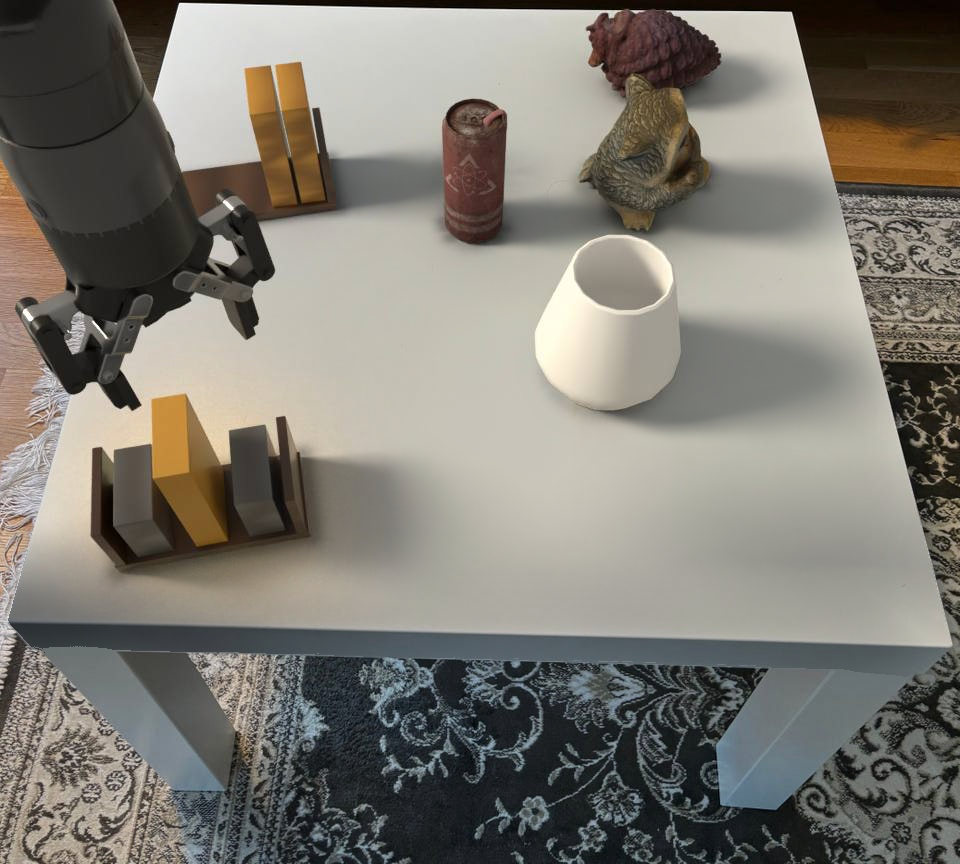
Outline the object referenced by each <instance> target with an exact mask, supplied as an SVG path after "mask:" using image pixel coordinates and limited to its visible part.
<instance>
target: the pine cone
mask: <svg viewBox="0 0 960 864" xmlns="http://www.w3.org/2000/svg"><path fill="white" fill-rule="evenodd" d="M609 15H610V14H609V13H608V12H601V13H599V15H598V16H597V18H596V19H595V20H594V22H593V23H592V24H589V25H587V26H585V31H586V32H589V35H588V41H589V42H590V43H591V44H590V45H591V48H592V50H591V54H590V56H589V58H588V61H587V64H588V65H589V67H592V68H598V67H600V66H601V67H600V69H601V71H602V73H604V74H605V79H606V80H607V81H608V82H609V83H611V89H612V90H613V91H615V92H620V96H621V97H622V98H623V99H624V98H625V99H627V97H626V88H625V87H626V81H627V79H628V77H629V76H630V75H631V74H639V75H641V76H642V77H644V78H646V79H647V80H648V81H650V83H651V84H652V85H653V87H654V88H655V89H662V88H677V89H680V90H681V88H683V87H684V86H691V85H692V84H696V82H697V80H700V79H703V78H704V77H707V76H710V75H711V73H712V72H715V70H717V69H718V67H719V66H720V65H721V64H722V60H721V58H722V53H721V52H719V51H720V49H719V46H716V45H717V43H716V41H715V40H714V39H710V37H709V35H707V34H706V33H704V34H703V33H702V32H701V31H700V29H696V27H695V26H692V25H690V24H689V22H688V21H687V20H686V19H682V17H681V16H678V15H674V14H673V13H672V11H667V10H665V9H659V10H657V9H655V8H652V9H645V10H643V11H638V12H636V13H635V12H633V11H632V10H631V9H630V8H625V9H622V10H620V11H617V12H616V13H615V14H614V16H613V17H609Z"/></svg>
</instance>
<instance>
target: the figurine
mask: <svg viewBox="0 0 960 864" xmlns="http://www.w3.org/2000/svg"><path fill="white" fill-rule="evenodd" d="M625 88H626V97H627V98H626V105H625V106H624V109H623V110H622V111H621V113H620V115H619V117H618V118H617V119H616V121H615V123H614V124H613V126H612V128H611V130H610V131H609V133H608V134H606V136H605V137H604V138H603V140H602V141H601V142H600V143H599V146H598V148H597V150H596V152H595V153H593V154H591V155H589V156H588V158H587V159H586V160H585V161H584V163H583V165H582V169H581V171H580V173H579V174H578V181H579V183H581V184H585V183H592V184H593V185H594V186H595V188H596V189H597V193H598V195H599V196H600V198H601V199H602V200H603V201H604V202H606V203H607V204H608V205H609V206H610V207H611V208H613V210H615V211H616V212H617V213H618V215H620V217H621V219H622V223H623V226H624V227H625V228H626V229H627V230H630V229H634V230H636V231H637V232H639V231H640V229H643V230H645V231H649V229H651V227H652V224H653V221H654V218H655V215H656V213H659V212H662V211H664V210H666V209H668V208H670V207H672V206H675V205H678V204H680V203H683V202H684V201H687V200H688V199H689V198H691V197H692V196H694V195H695V194H696V193H697V192H699V191H700V190H701V189H702V188H703V187H704V186H705V184H707V182H708V180H709V175H710V172H711V171H710V170H711V169H710V165H709V162H708V161H707V160H706V159H705V158H704V157H703V156H702V151H701V150H702V149H701V148H702V145H701V139H700V136H699V134H698V132H697V131H696V129H695V127H694V126H693V125H692V124H691V123H690V122H689V115H688V111H687V106H686V99H685V98H684V96H683V94H682V91H681V88H680V89H677V88H662V89H655V88H654V87H653V85H652V84H651V83H650V81H648V80H647V79H646V78H644V77H642V76H641V75H639V74H631V75H630V76H629V77H628V79H627V81H626V87H625Z"/></svg>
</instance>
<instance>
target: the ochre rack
mask: <svg viewBox="0 0 960 864" xmlns="http://www.w3.org/2000/svg"><path fill="white" fill-rule="evenodd" d="M274 69H275V76H276V83H275V79H274V78H275V77H274V74H273V69H272V65H271V64H270V65H262V66H261V65H259V66H252V67H244V69H243V70H244V71H243V72H244V78H245V79H244V80H245V89H246V97H247V106H248V114H249V119H250V122H251V127H252V131H253V135H254V139H255V143H256V146H257V150H258V155H259V158H260V160H259V161H251V162H243V163H235V164H229V165H222V166H221V165H220V166H213V167H205V168H200V169H199V168H198V169H192V170H185V171H181V172H182V174H183V177H184V180H185V183H186V186H187V189H188V191H189V194H190V197H191V200H192V203H193V205H194V208H195V211H196V214H197V216H198V218H199V217H201V216H202V215H204V214H206V213H207V212H209V211H211V210H212V209H214V208H215V207H217V205H216V203H215V197H216V195H217V194H218V193H219V192H220V191H221V190H223V189H230V190H231V191H232V192H233V193H234V194H235V195H236V196H237V197H238V198H239V199H241V200H242V201H243V202H244V203H245V204H246V205H247V206H248V207H249V208H250V209H251V210H252V211H253V212H254V213H255V215H256V218H257V220H258V221H265V220H273V219H279V218H285V217H293V216H299V215H306V214H307V215H308V214H313V213H320V212H329V211H335V210H338V209H339V206H338V201H337V195H336V190H335V184H334V183H335V182H334V178H333V172H332V167H331V161H330V155H329V152H328V148H327V144H326V143H327V142H326V138H325V137H326V136H325V131H324V125H323V119H322V114H321V109H320V107H312V108H311V107H310V101H309V96H308V91H307V85H306V80H305V74H304V69H303V64H302V62H301V61H295V62H286V63H279V64H274ZM276 84H277V86H276ZM277 91H278V92H277ZM311 112H312V114H311ZM312 117H313V119H312ZM313 123H314V124H313Z"/></svg>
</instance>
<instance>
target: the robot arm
mask: <svg viewBox="0 0 960 864" xmlns="http://www.w3.org/2000/svg"><path fill="white" fill-rule="evenodd" d="M175 146H176V145H175V142H174V140H173V138H172V135H171V133H170V131H169V130H168V129H167V127H166V125H165V122H164V120H163V117H162V114H161V113H160V110H159V108H158V106H157V104H156V102H155V101H154V99H153V97H152V95H151V94H150V91H149V90H148V87H147V86H146V84H145V82H144V79H143V77H142V74H141V71H140V69H139V66H138V63H137V61H136V57H135V54H134V51H133V50H132V46H131V44H130V41H129V39H128V35H127V33H126V29H125V27H124V24H123V22H122V18H121V16H120V14H119V12H118V10H117V7H116V5H115V3H114V0H0V159H1V162H2V164H3V166H4V167H5V169H6V172H7V173H8V175H9V177H10V179H11V181H12V183H13V184H14V187H15V188H16V190H17V191H18V193H19V195H20V196H21V198H22V200H23V201H24V204H25V205H26V206H27V209H28V211H29V212H30V214H31V216H32V217H33V219H34V221H35V223H36V225H37V226H38V228H39V230H40V231H41V233H42V235H43V237H44V239H45V240H46V242H47V244H48V245H49V247H50V249H51V250H52V252H53V253H54V256H55V257H56V259H57V260H58V262H59V264H60V266H61V268H62V269H63V271H64V273H65V287H64V291H62V292H60V293H58V294H56V295H53V296H52V297H50V298H47V299H45V300H44V301H41V302H39V301H38V300H37V298H35V297H33V296H24V297H22V298H20V299H19V300H18V301H17V302H16V303H15V306H14V310H15V312H16V315H17V316H18V318H19V320H20V322H21V323H22V325H23V327H24V328H25V331H26V332H27V333H28V336H29V337H30V339H31V341H32V342H33V344H34V345H35V348H36V350H37V351H38V353H39V355H40V356H41V358H42V361H43V362H44V364H45V366H46V367H47V368H48V370H49V371H50V372H51V373H52V374H53V375H54V376H55V377H56V379H57V380H58V381H59V383H60V385H61V386H62V388H63V389H64V390H65V392H66V393H67V394H68V395H72V396H74V395H78V394H81V392H84V390H85V389H86V387H87V385H89V384H91V383H92V384H93V383H96V384H98V386H99V388H100V389H101V391H102V392H103V393H104V395H105V396H106V397H107V399H108V400H109V401H110V403H111V404H112V405H113V407H114V408H117V409H119V410H122V409H123V408H125V407H128V408H129V410H130V411H131V412H133V411H135V410H137V409H139V408H140V407H142V406H143V404H142V403H141V400H140V399H139V398H138V395H136V392H135V391H134V389H133V387H132V386H131V383H130V382H129V380H128V379H127V377H126V375H125V374H124V372H123V371H122V370H121V367H122V365H123V361H124V358H125V355H129V354H132V353H133V350H134V347H135V345H136V342H137V339H138V337H139V333H140V331H141V328H142V326H143V327H144V328H145V329H147V328H148V327H150V326H152V325H153V324H155V323H157V322H158V321H159V320H161V319H162V318H163V317H165V315H167V314H168V313H170V312H172V311H175V310H178V309H181V308H182V307H184V306H186V305H188V304H189V303H191V302H193V301H192V298H191V297H192V296H194V294H195V293H196V294H199V295H202V296H205V297H209V298H213V299H215V300H219V301H221V302H222V305H223V307H224V310H225V314H226V315H227V318H228V321H229V322H230V324H231V325H232V327H233V328H234V329H235V330H236V331H237V333H238V334H240V336H241V337H242V338H243V339H244V340H245V341H248V340H250V339H252V338H253V337H255V336H256V335H257V333H256V330H255V327H256V326H258V325H259V321H260V316H259V313H258V309H257V307H256V304H255V301H254V298H253V295H254V287H255V286H256V285H257V283H259V281H261V282H267V281H270V280H271V279H272V278H273V277H274V275H275V273H276V267H275V264H274V262H273V259H272V255H271V253H270V251H269V248H268V245H267V243H266V240H265V238H264V237H265V236H264V235H263V232H262V229H261V226H260V223H259V220H257V218H256V215H255V213H254V212H253V211H252V210H251V209H250V208H249V207H248V206H247V205H246V204H245V203H244V202H243V201H242V200H241V199H239V198H238V197H237V196H236V195H235V194H234V193H233V192H232V191H231V190H230V189H223V190H221V191H220V192H219V193H218V194H217V195H216V197H215V203H216V205H217V207H215V208H214V209H212V210H211V211H209V212H207V213H206V214H204V215H202V216H201V217H199V218H198V216H197V214H196V211H195V208H194V205H193V203H192V200H191V197H190V194H189V191H188V189H187V186H186V183H185V180H184V177H183V174H182V172H183V171H182V168H181V165H180V163H179V161H178V158H177V155H176V149H175V148H176V147H175ZM215 236H222V238H224V239H225V241H228V242H231V244H232V246H233V248H234V252H235V253H236V256H237V259H235V261H233V262H232V263H231V265H230V264H229V263H225V262H223V261H220V260H217V259H214V258H212V257H210V255H211V253H212V250H213V248H214V243H215V238H214V237H215ZM78 313H81V314H83V325H84V328H85V330H84V334H83V336H82V339H81V342H80V346H79V349H78V352H77V353H72V351H71V349H70V347H69V346H68V343H67V342H66V341H69V340H71V339H72V337H73V335H72V333H71V331H72V329H73V324H72V320H73V319H74V316H75V315H77V314H78Z"/></svg>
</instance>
